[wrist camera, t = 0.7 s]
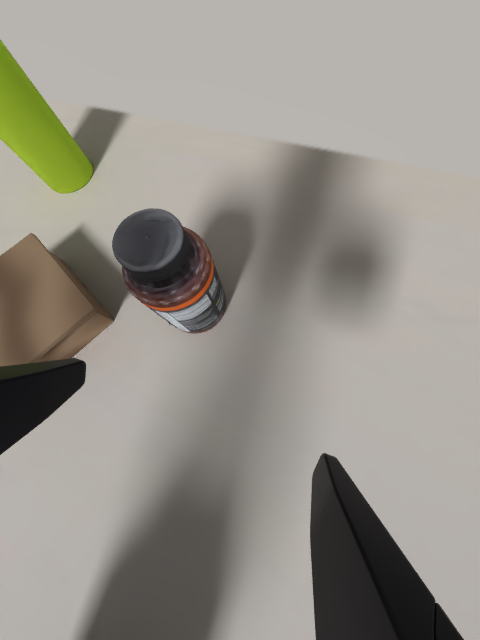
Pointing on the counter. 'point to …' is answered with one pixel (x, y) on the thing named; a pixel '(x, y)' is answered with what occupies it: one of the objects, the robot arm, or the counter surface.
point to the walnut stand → (43, 307)
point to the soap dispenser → (38, 131)
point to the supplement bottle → (169, 270)
